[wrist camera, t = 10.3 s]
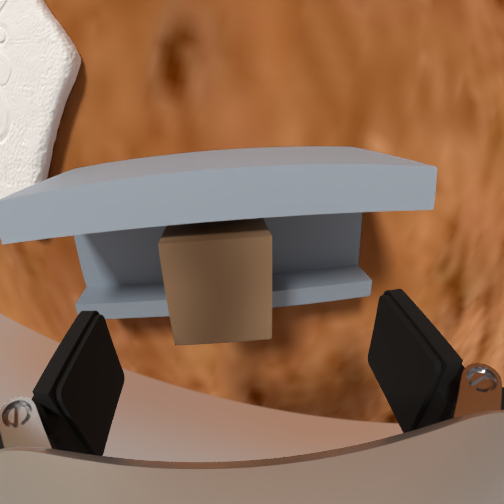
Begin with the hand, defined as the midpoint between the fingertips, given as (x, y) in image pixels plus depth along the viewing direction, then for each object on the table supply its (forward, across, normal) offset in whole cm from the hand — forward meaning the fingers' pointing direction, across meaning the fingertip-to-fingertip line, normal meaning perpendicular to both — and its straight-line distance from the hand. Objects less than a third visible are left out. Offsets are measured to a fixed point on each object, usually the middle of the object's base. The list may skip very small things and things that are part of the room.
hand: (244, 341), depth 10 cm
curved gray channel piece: (+13, +1, 0) cm, 14 cm away
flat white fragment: (+14, +19, -16) cm, 28 cm away
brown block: (+12, +1, 0) cm, 12 cm away
